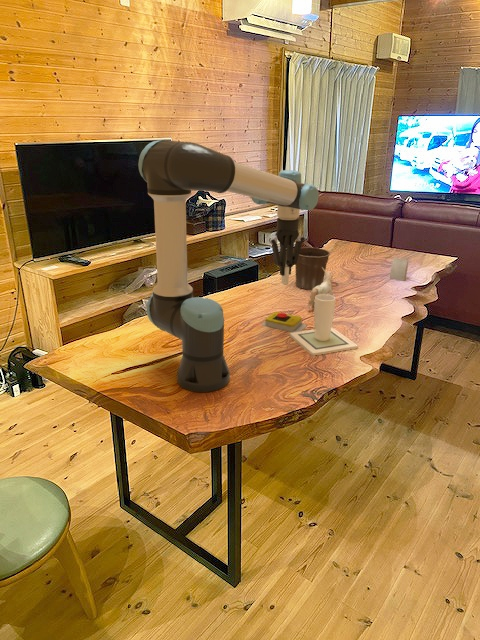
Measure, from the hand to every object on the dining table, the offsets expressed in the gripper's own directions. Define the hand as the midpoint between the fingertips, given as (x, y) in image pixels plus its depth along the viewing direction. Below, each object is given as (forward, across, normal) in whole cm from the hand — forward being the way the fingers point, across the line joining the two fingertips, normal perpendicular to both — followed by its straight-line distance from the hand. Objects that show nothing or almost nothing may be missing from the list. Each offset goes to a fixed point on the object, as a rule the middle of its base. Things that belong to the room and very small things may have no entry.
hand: (284, 283), depth 175 cm
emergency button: (+16, 0, -1) cm, 16 cm away
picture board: (+16, +6, -19) cm, 25 cm away
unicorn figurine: (+16, +22, +14) cm, 30 cm away
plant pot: (+16, +31, +36) cm, 50 cm away
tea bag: (+16, +77, +32) cm, 85 cm away
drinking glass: (+15, +6, -19) cm, 24 cm away
